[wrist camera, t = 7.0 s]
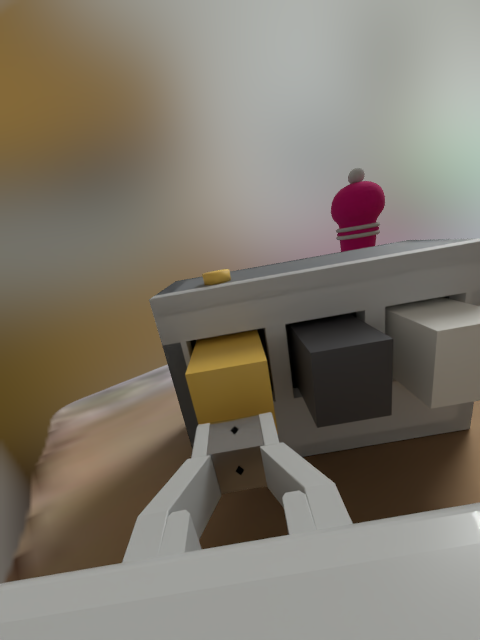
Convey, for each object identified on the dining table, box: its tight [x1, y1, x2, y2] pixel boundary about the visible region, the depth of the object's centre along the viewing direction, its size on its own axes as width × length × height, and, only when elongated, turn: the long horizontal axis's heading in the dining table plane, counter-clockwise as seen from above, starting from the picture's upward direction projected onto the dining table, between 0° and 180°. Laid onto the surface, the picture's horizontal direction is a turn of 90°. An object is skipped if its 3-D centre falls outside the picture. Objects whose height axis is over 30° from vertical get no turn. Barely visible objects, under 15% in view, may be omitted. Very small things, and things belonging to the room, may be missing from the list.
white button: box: [385, 297, 480, 409], centre depth 13 cm, size 4×4×4 cm
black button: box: [289, 313, 393, 428], centre depth 13 cm, size 4×4×4 cm
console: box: [149, 239, 480, 457], centre depth 17 cm, size 18×6×13 cm, turn 92°
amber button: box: [185, 330, 278, 435], centre depth 13 cm, size 4×4×4 cm
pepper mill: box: [331, 168, 385, 252], centre depth 32 cm, size 7×7×20 cm
